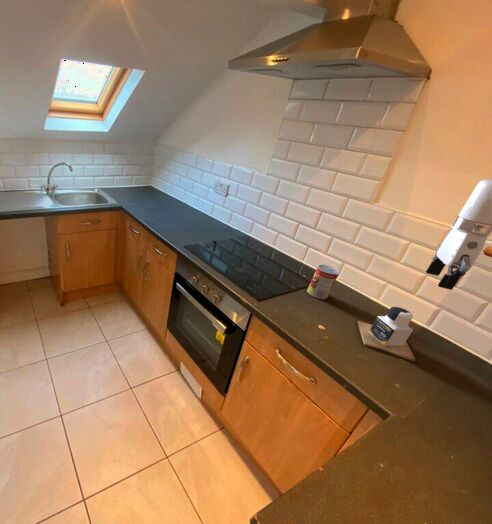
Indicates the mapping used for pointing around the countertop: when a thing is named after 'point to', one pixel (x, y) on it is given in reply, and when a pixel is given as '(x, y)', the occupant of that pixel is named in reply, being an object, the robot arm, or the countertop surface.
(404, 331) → the medicine bottle
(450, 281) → the robot arm
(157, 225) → the countertop surface
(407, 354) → the cork mat
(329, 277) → the canned food
